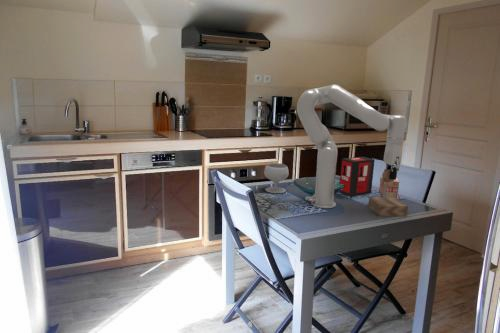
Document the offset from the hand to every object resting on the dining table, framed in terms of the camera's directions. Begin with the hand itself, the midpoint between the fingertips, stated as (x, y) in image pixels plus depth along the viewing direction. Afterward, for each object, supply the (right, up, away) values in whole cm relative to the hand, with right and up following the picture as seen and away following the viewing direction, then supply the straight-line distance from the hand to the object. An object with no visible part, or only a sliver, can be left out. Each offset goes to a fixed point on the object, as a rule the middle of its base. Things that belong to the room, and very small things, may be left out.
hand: (390, 177), depth 187 cm
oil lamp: (0, -2, +1) cm, 3 cm away
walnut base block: (0, -17, +4) cm, 17 cm away
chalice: (-54, -9, +33) cm, 64 cm away
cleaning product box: (-8, -10, +34) cm, 36 cm away
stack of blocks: (+8, -12, +28) cm, 32 cm away
